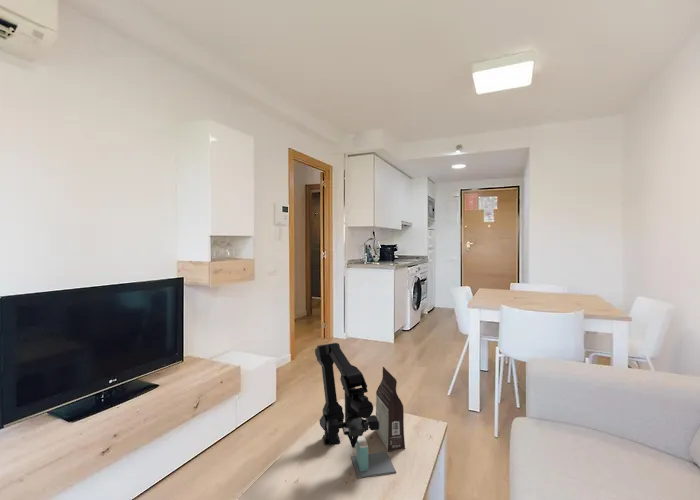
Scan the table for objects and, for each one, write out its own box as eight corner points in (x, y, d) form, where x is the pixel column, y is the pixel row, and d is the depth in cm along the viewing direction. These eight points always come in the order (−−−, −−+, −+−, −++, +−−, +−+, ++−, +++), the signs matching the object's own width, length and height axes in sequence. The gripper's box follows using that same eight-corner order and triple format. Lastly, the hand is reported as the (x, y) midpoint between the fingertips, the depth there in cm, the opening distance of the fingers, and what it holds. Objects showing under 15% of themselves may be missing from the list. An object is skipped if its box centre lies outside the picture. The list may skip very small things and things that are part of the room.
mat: (351, 457, 135) (351, 455, 135) (386, 452, 138) (386, 451, 138) (357, 478, 123) (357, 476, 123) (396, 472, 126) (396, 471, 126)
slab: (356, 459, 133) (356, 435, 132) (364, 458, 133) (363, 435, 133) (360, 471, 126) (360, 446, 126) (368, 470, 126) (368, 445, 126)
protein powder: (407, 448, 140) (407, 379, 139) (386, 452, 138) (386, 382, 137) (392, 427, 156) (391, 364, 155) (373, 430, 154) (372, 367, 153)
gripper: (329, 419, 119) (330, 464, 119) (383, 413, 122) (383, 457, 122) (326, 403, 130) (326, 445, 130) (375, 399, 133) (375, 439, 133)
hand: (353, 447), depth 129 cm, fingers closed
